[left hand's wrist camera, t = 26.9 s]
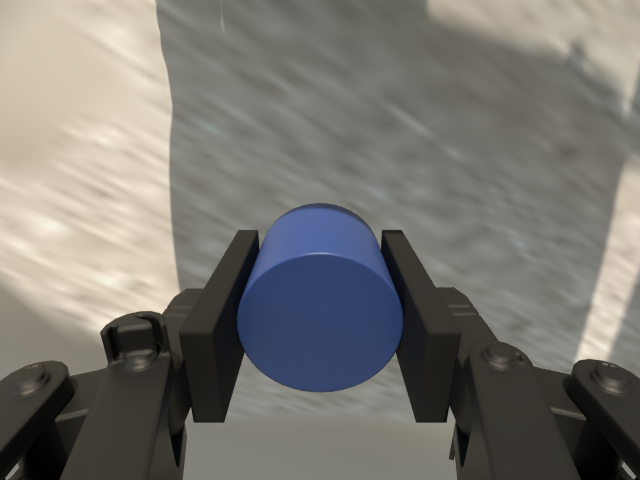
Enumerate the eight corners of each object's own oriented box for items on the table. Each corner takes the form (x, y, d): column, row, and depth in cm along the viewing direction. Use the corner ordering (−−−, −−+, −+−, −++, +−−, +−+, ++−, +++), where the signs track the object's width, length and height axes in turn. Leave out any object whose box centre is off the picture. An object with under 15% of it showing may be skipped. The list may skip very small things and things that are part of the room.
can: (305, 177, 14) (299, 218, 9) (404, 247, 15) (439, 313, 10) (238, 271, 15) (205, 343, 11) (332, 328, 16) (336, 416, 12)
